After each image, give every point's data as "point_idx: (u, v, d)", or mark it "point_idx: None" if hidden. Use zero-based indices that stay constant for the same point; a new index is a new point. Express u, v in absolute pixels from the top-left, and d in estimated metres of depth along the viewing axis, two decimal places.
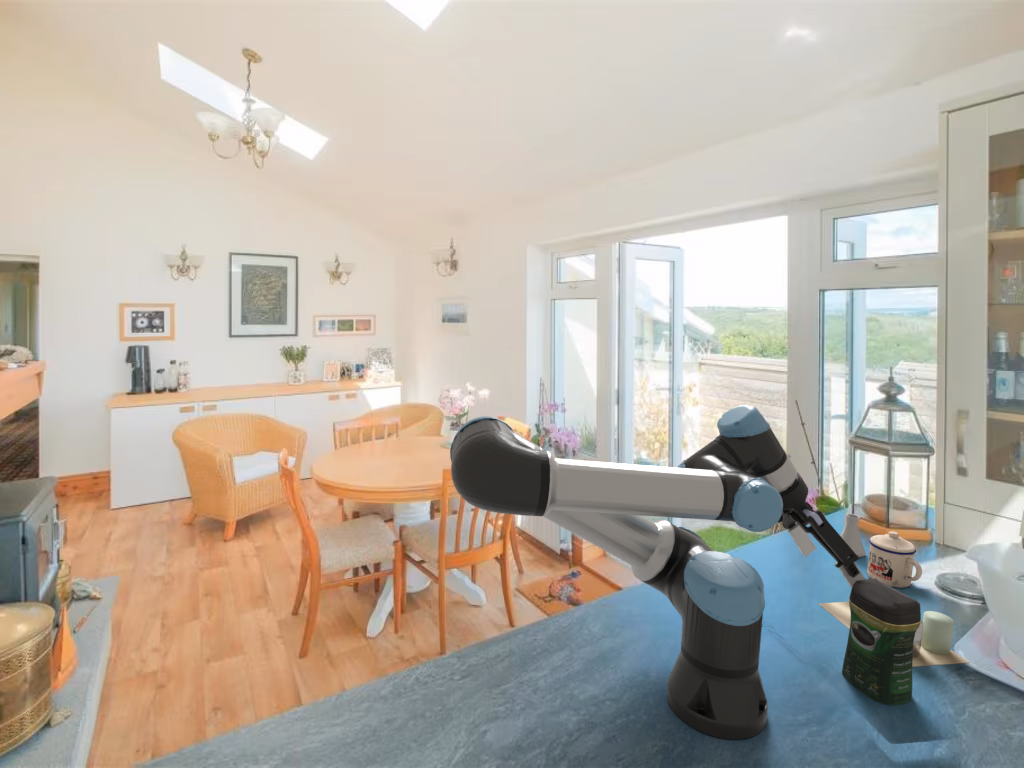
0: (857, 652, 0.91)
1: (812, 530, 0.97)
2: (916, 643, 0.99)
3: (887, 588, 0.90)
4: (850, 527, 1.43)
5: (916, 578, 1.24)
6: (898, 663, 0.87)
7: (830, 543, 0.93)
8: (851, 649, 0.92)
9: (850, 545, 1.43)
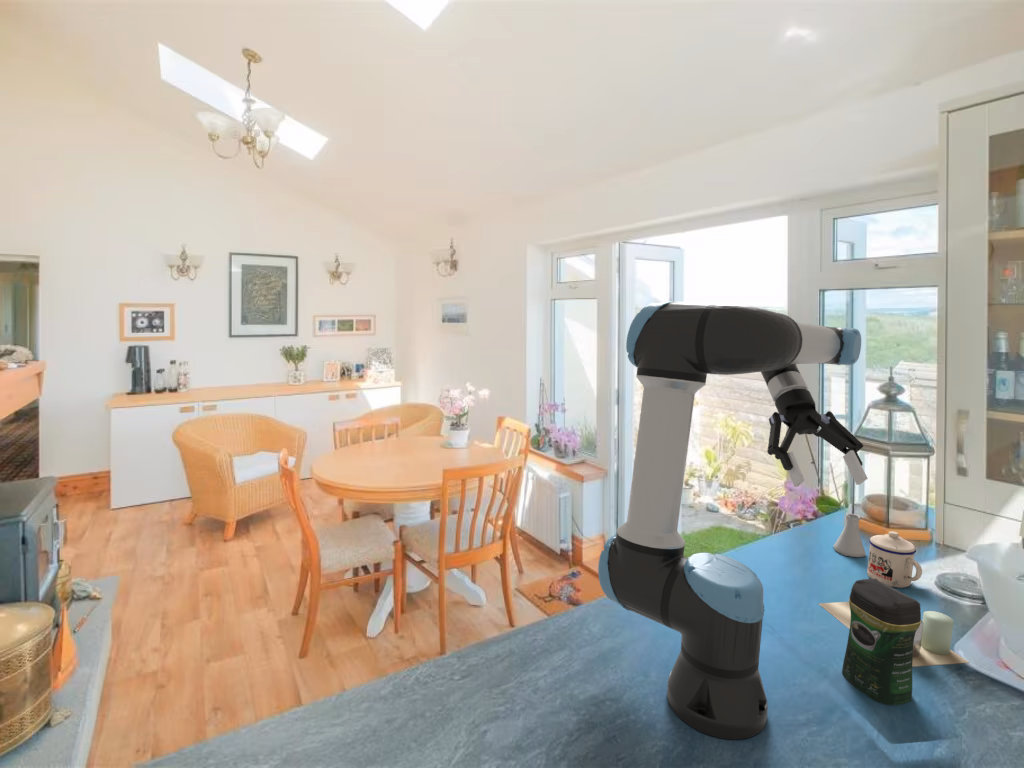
0: (857, 652, 0.91)
1: (827, 428, 1.18)
2: (916, 643, 0.99)
3: (887, 588, 0.90)
4: (851, 527, 1.43)
5: (916, 578, 1.24)
6: (898, 663, 0.87)
7: None
8: (851, 649, 0.92)
9: (850, 545, 1.43)
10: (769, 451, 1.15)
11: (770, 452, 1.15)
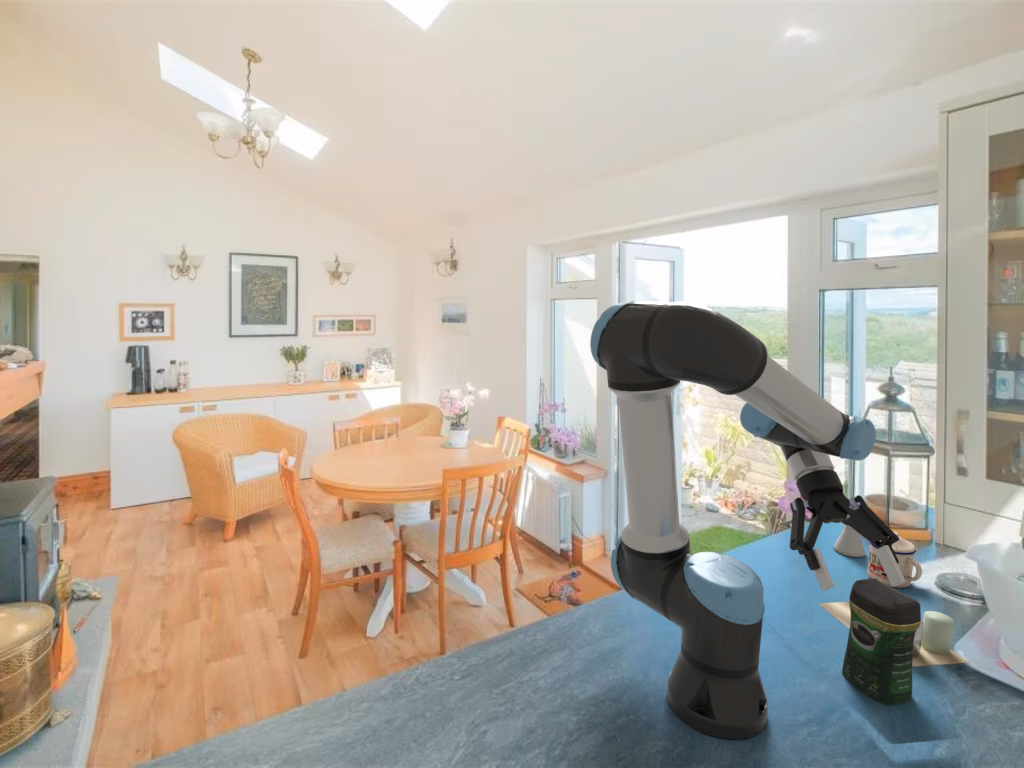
0: (857, 652, 0.91)
1: None
2: (916, 643, 0.99)
3: (887, 588, 0.90)
4: (850, 527, 1.43)
5: (916, 578, 1.24)
6: (898, 663, 0.87)
7: None
8: (851, 649, 0.92)
9: (850, 545, 1.43)
10: (792, 546, 1.00)
11: (793, 547, 1.00)
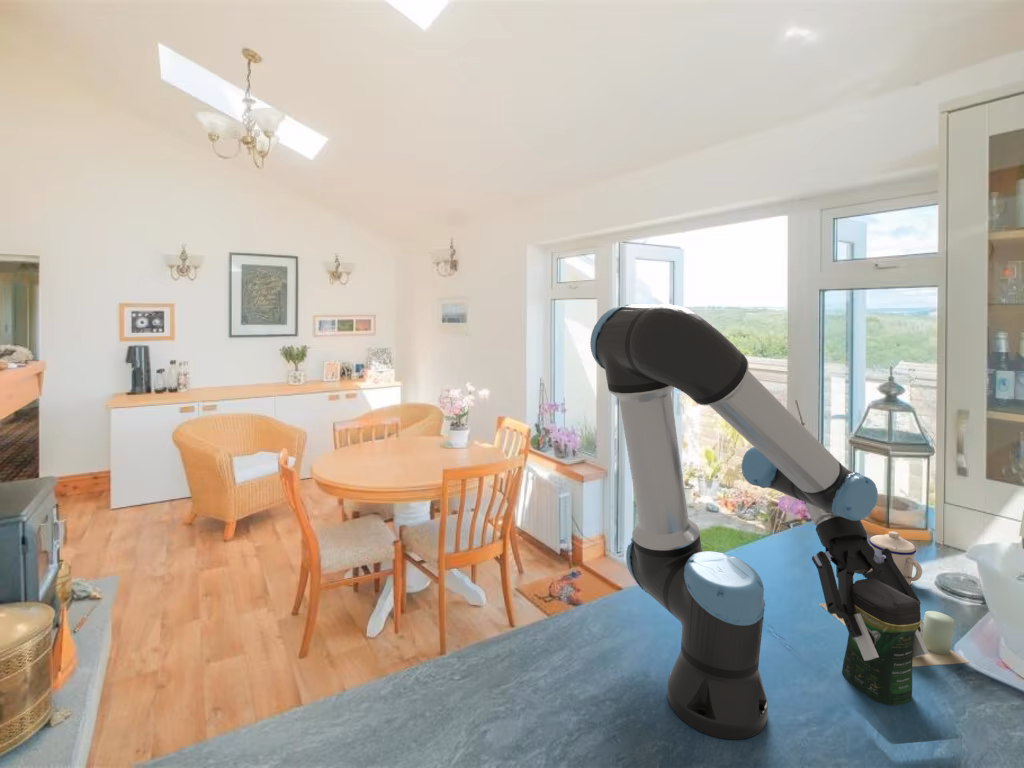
0: (857, 652, 0.91)
1: None
2: None
3: (887, 588, 0.90)
4: None
5: (916, 578, 1.24)
6: (898, 663, 0.87)
7: None
8: (851, 649, 0.92)
9: None
10: (830, 609, 0.92)
11: (831, 611, 0.92)
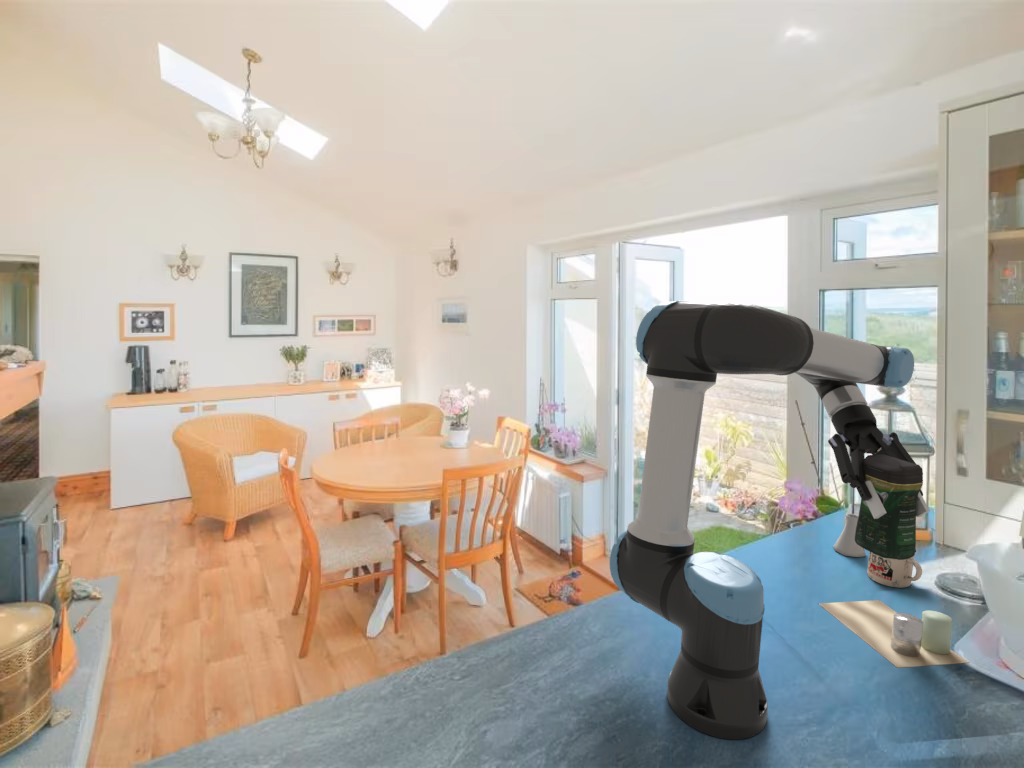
0: (868, 514, 1.06)
1: (888, 450, 1.10)
2: (916, 643, 0.99)
3: (894, 458, 1.04)
4: (850, 527, 1.43)
5: (916, 578, 1.24)
6: (904, 518, 1.02)
7: None
8: (863, 513, 1.07)
9: (850, 545, 1.43)
10: (844, 479, 1.07)
11: (845, 480, 1.07)
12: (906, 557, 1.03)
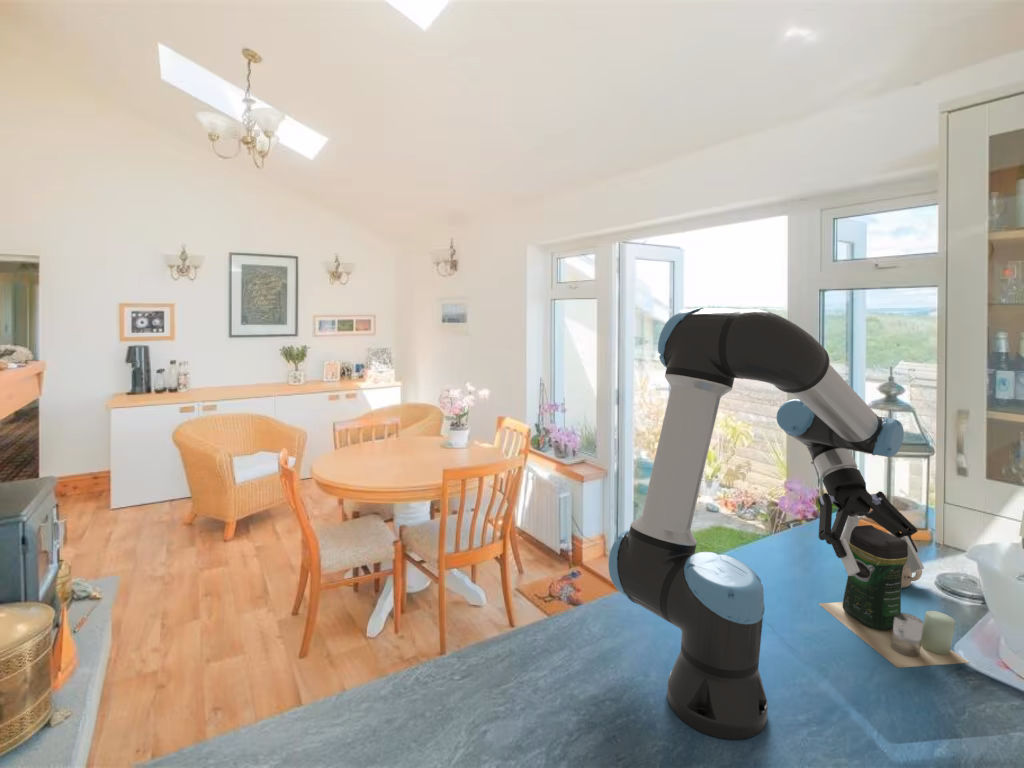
0: (855, 584, 1.10)
1: None
2: (916, 643, 0.99)
3: (880, 531, 1.09)
4: (850, 527, 1.43)
5: (916, 578, 1.24)
6: (889, 591, 1.06)
7: None
8: (850, 583, 1.11)
9: None
10: (821, 536, 1.12)
11: (822, 538, 1.11)
12: (891, 628, 1.07)
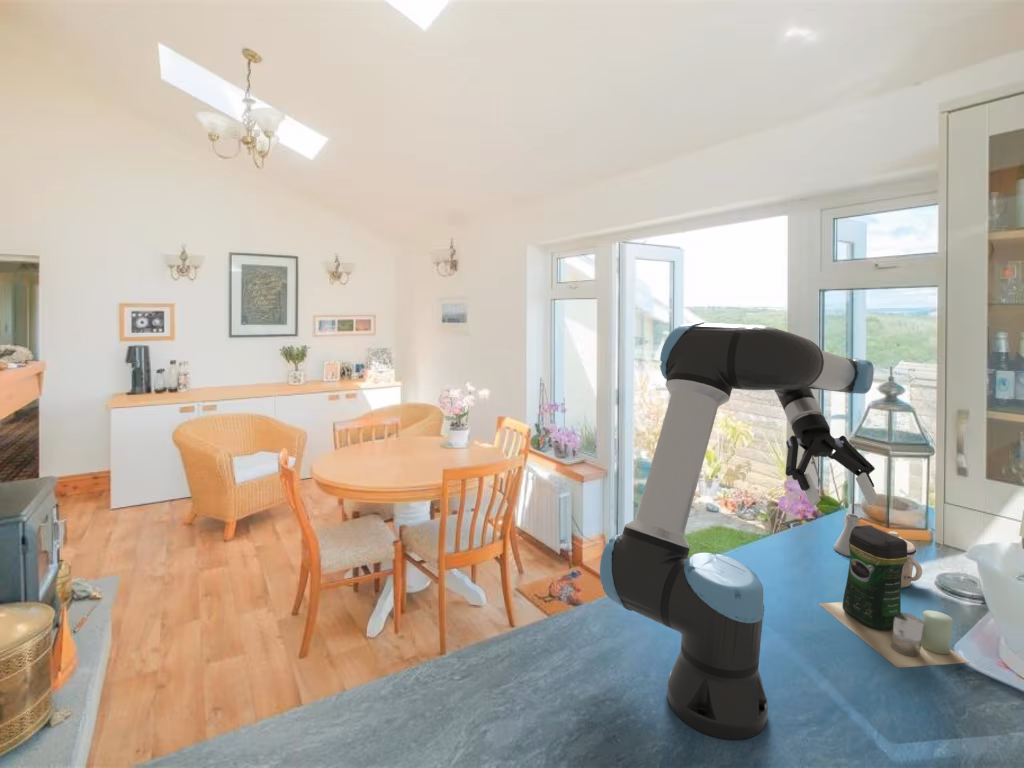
0: (855, 584, 1.10)
1: (841, 451, 1.27)
2: (916, 643, 0.99)
3: (880, 531, 1.09)
4: (850, 527, 1.43)
5: (916, 578, 1.24)
6: (889, 591, 1.06)
7: None
8: (850, 583, 1.11)
9: None
10: (787, 472, 1.24)
11: (788, 473, 1.24)
12: (891, 628, 1.07)
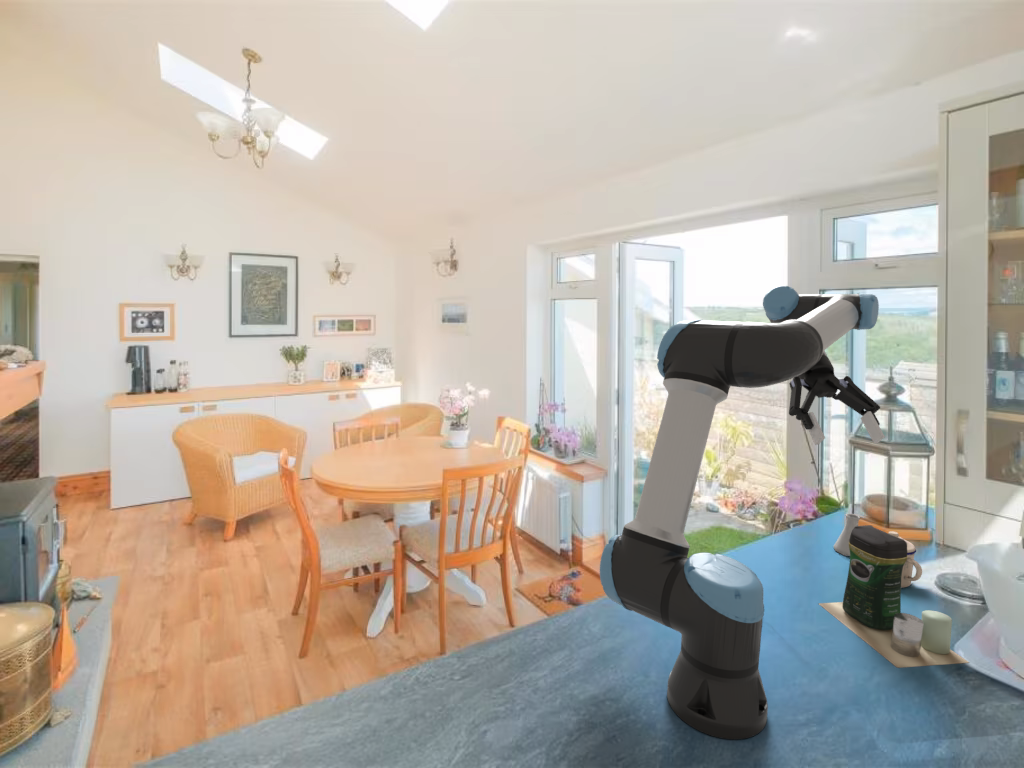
0: (855, 584, 1.10)
1: (845, 391, 1.24)
2: (916, 643, 0.99)
3: (880, 531, 1.09)
4: (850, 527, 1.43)
5: (916, 578, 1.24)
6: (889, 591, 1.06)
7: None
8: (850, 583, 1.11)
9: None
10: (790, 412, 1.21)
11: (791, 413, 1.21)
12: (891, 628, 1.07)
